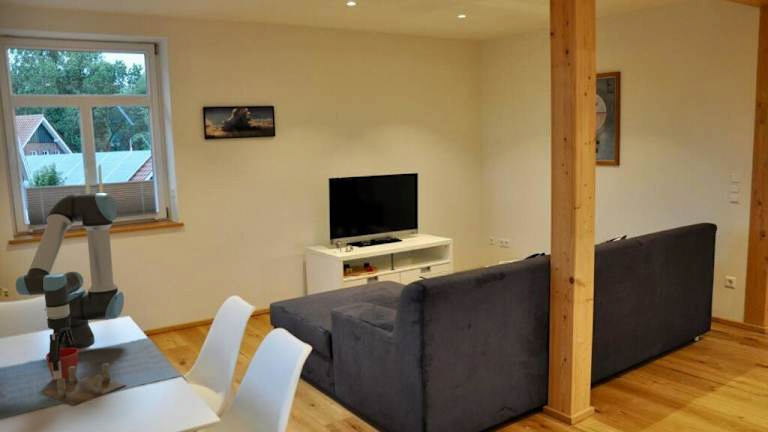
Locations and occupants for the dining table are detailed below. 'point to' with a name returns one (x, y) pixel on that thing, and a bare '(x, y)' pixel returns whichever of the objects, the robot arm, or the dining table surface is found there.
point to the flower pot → (65, 361)
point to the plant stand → (84, 387)
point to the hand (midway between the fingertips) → (64, 371)
